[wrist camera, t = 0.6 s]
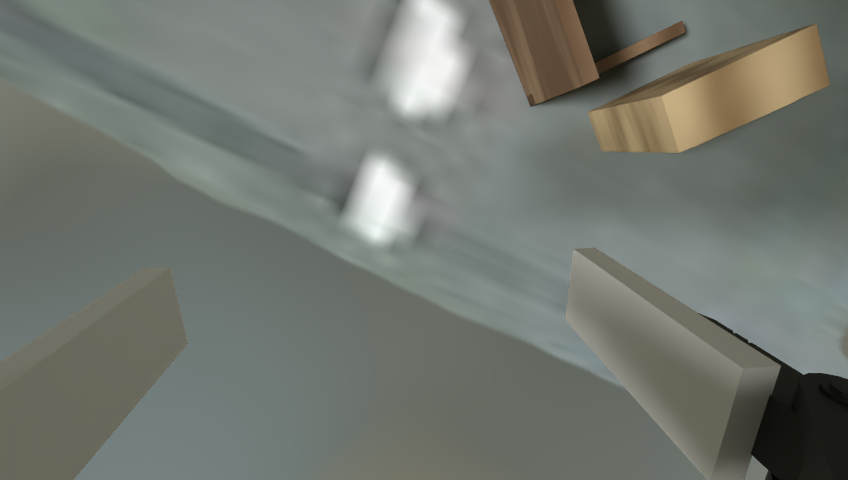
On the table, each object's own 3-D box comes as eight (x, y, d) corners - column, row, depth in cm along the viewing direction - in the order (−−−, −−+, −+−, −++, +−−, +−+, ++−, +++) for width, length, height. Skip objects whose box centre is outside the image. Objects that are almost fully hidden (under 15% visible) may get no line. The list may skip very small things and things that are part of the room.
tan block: (690, 63, 36) (816, 23, 24) (703, 107, 37) (831, 89, 25) (587, 112, 37) (661, 96, 25) (602, 154, 38) (680, 156, 26)
